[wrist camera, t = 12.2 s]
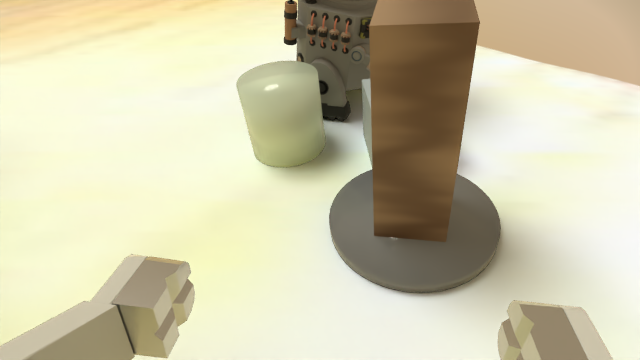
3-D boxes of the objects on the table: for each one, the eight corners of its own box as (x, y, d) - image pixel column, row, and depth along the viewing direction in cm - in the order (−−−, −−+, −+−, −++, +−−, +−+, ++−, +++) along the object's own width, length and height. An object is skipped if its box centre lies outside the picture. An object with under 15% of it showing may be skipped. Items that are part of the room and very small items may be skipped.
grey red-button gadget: (412, 131, 32) (424, -89, 22) (287, 116, 36) (252, -76, 26) (431, 81, 38) (447, -107, 29) (322, 73, 42) (305, -94, 33)
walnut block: (373, 235, 23) (369, 25, 15) (380, 190, 26) (379, -5, 18) (446, 242, 22) (479, 21, 14) (444, 194, 25) (471, -9, 17)
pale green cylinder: (243, 165, 31) (223, 97, 27) (266, 125, 35) (252, 61, 31) (317, 169, 29) (307, 97, 26) (331, 126, 34) (324, 60, 30)
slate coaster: (315, 281, 22) (314, 272, 21) (343, 169, 29) (342, 160, 28) (511, 303, 19) (514, 293, 19) (487, 175, 27) (489, 166, 26)
